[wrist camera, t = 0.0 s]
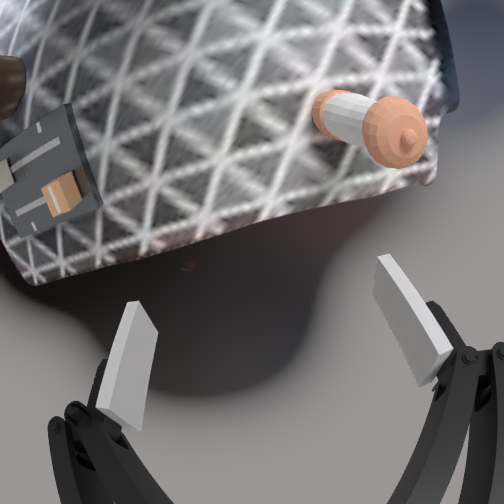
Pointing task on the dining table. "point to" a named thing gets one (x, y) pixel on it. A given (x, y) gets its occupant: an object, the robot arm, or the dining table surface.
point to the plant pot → (10, 84)
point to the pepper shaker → (373, 125)
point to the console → (46, 171)
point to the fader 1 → (5, 176)
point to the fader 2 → (61, 194)
